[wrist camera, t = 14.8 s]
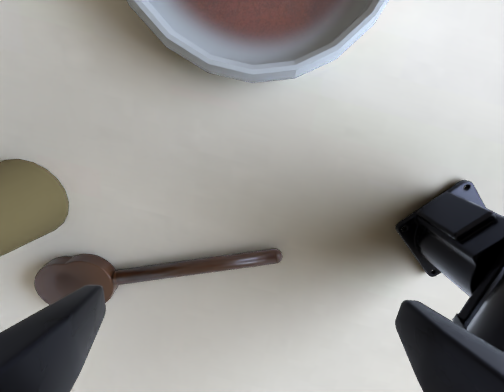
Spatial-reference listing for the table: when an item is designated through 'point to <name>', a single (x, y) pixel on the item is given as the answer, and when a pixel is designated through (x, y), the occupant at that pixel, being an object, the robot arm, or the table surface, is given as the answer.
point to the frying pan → (258, 33)
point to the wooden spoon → (133, 272)
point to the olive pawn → (28, 203)
